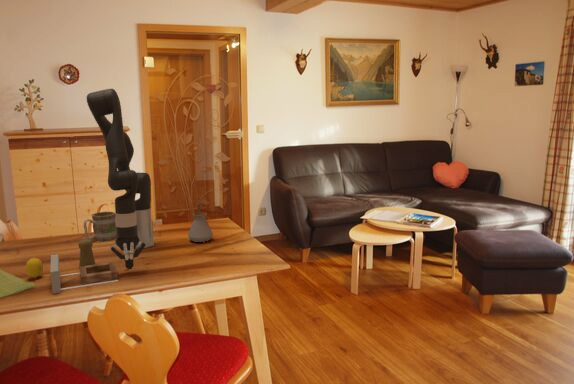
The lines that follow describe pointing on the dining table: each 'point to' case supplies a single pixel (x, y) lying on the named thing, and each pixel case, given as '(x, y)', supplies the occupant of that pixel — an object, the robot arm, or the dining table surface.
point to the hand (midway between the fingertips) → (129, 268)
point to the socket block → (98, 273)
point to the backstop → (56, 275)
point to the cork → (86, 253)
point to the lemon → (34, 267)
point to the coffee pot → (200, 227)
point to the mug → (102, 226)
